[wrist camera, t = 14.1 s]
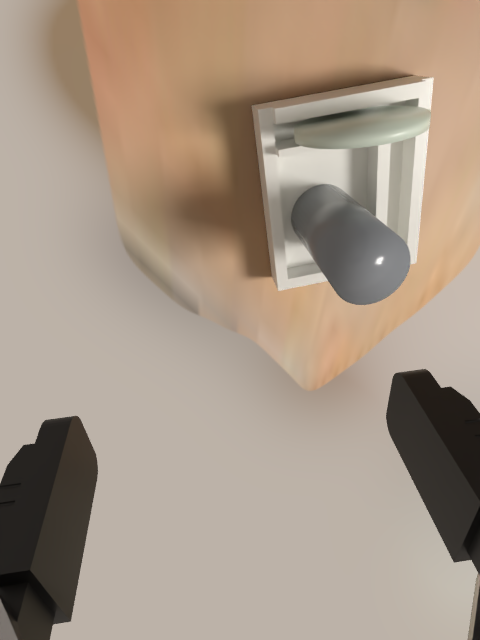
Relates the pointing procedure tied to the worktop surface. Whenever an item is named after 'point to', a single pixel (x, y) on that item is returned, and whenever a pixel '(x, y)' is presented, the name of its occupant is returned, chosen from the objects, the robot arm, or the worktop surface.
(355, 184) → the white divided tray
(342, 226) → the grey domed cylinder
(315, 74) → the worktop surface
